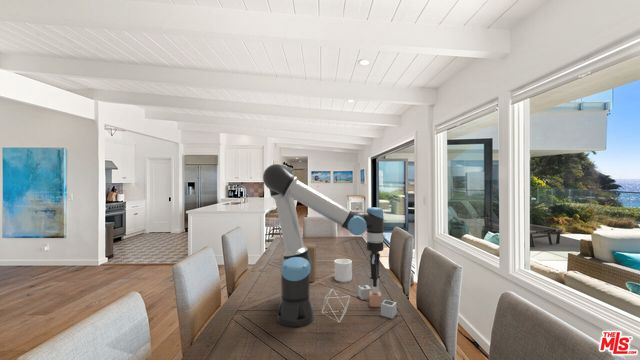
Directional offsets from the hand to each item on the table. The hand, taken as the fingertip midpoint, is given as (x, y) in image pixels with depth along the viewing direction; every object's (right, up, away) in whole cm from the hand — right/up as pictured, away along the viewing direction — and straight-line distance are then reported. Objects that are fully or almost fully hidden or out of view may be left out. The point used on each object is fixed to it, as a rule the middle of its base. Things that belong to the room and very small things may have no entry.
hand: (375, 292), depth 127 cm
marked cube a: (+4, -5, -10) cm, 12 cm away
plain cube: (0, -5, 0) cm, 5 cm away
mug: (-12, -6, +34) cm, 37 cm away
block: (-33, -6, +32) cm, 46 cm away
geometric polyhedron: (-19, -6, -10) cm, 22 cm away
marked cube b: (-4, -5, +8) cm, 10 cm away
